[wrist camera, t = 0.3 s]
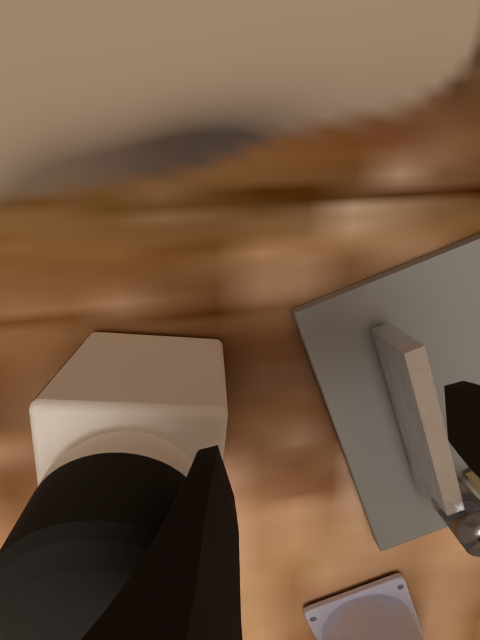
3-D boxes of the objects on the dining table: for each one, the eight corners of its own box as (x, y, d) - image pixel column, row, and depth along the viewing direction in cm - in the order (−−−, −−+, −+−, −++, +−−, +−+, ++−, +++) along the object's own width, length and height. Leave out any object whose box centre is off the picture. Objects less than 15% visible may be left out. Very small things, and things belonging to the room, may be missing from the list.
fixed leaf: (455, 485, 24) (524, 562, 18) (419, 499, 24) (476, 580, 19) (412, 309, 19) (484, 345, 14) (368, 327, 20) (424, 368, 14)
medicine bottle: (90, 329, 19) (-89, 530, 8) (223, 337, 20) (239, 531, 8) (95, 439, 21) (-36, 717, 10) (213, 442, 22) (216, 705, 11)
